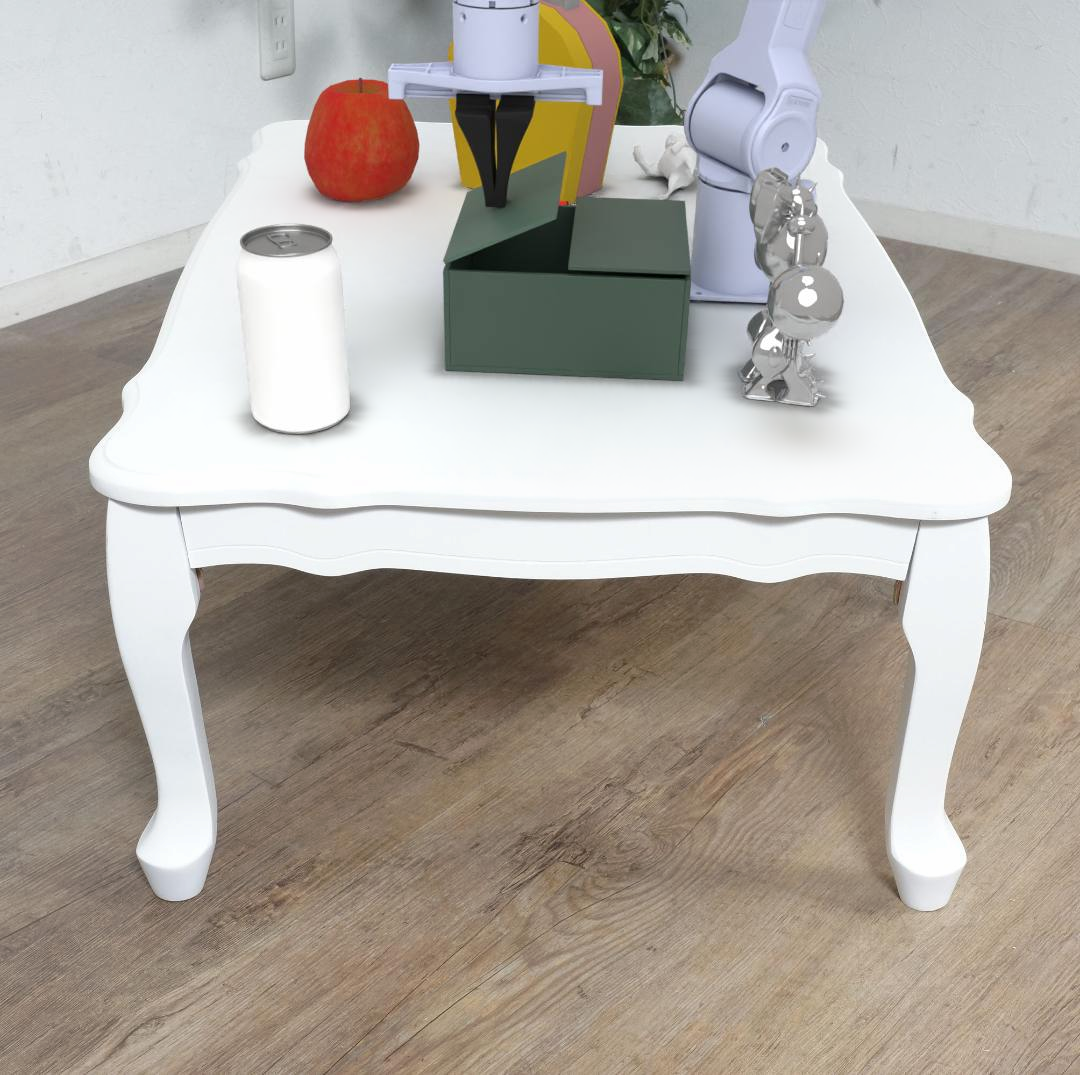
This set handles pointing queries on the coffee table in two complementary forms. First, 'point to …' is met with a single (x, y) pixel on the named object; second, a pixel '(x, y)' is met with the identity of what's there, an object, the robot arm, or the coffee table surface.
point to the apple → (360, 142)
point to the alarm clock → (564, 126)
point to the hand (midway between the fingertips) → (496, 203)
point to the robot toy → (788, 290)
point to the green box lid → (509, 208)
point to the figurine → (672, 163)
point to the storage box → (576, 295)
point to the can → (293, 328)
